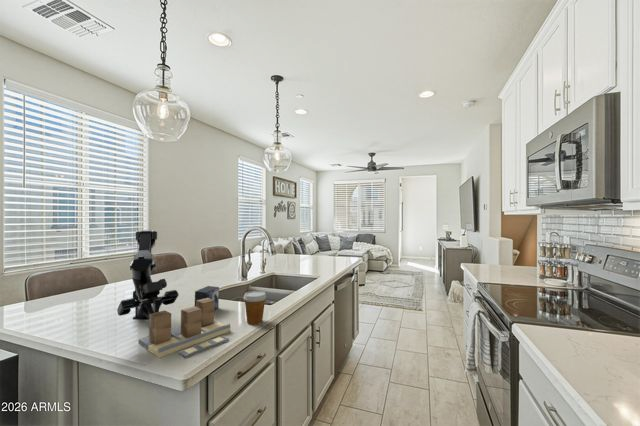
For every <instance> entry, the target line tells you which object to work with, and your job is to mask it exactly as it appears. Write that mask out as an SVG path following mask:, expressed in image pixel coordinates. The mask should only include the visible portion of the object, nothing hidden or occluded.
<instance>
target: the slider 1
mask: <svg viewBox="0 0 640 426" xmlns="http://www.w3.org/2000/svg"><path fill="white" fill-rule="evenodd" d="M148 319H149V322H148V323H149V324H148V325H149V329H148V336H149V341H151V342H152V343H154V344H155V345H156V344H159V343H162V342H165V341H167V340H170V339H171V329H172V312H170V311H169V312H168V311H167V310H162V311H161V310H159V312H156V313H152V314H150V317H149V318H148Z"/></svg>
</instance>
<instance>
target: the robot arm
mask: <svg viewBox="0 0 640 426" xmlns="http://www.w3.org/2000/svg"><path fill="white" fill-rule="evenodd" d="M157 240H158V231H155V229H152V230H151V229H144V230H143V229H141V230H140V229H139V231H135V241H137V245H138V249H137V250H138V251H137V252H136V254H134V255H133V260H132V261H131V262H130V265H129V269H130V271H131V274H132V278H131V279H132V282H133V283H132V284H133V285H134V290H133V291H132V298H126V299H123V300H121V301H120V303H119V305H118V307H117V310H116V311H117V316H119V317H121V316H126V315H130V312H131V311H132V310H131V309H135V313H134V314H135V315H134V316H133V317H132V319H133V320H138V319H139V320H148V319H149V317H150V314H152V313H156V312H160V308H161V306H162V305H165V306H167V305H172V304H174V303H175V302H176V301H177V299H178V297H179V292H178V290H176V289H173V290H166V291H165V292H164V294H163V295H161V296H159V295H160V294H161V293H160V291H162V290H163V289H165V288H167V285H168V284H167V281H166V278H162V279H161V278H160V279H159V280H158V281H153V280H152V277H151V275H152V273H151V272H152V271H153V270H154V269H155V268H156V267H157V262H156V261H155V259H153V253H152V249H153V248H154V247H155V246H156V241H157Z"/></svg>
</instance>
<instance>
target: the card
mask: <svg viewBox="0 0 640 426" xmlns="http://www.w3.org/2000/svg"><path fill="white" fill-rule="evenodd" d="M226 341H227V342H229V341H230V338H228V337H226V336H224V335H219V336H216V337H213V338H211V339H208V340H205V341H203V342H200V343H197V344H195V345H192V346H189V347H187V348H184V349H181V350H179V351H178V355H180V356H181V357H183V358H185V359H187V358H189V357H191V356H194V355H197V354H199V353H202V352H204V351H207V350H209V349H211V348H214V347H216V346H219V345H221V343H222V344H224V343H226Z"/></svg>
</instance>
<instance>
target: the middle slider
mask: <svg viewBox="0 0 640 426" xmlns="http://www.w3.org/2000/svg"><path fill="white" fill-rule="evenodd" d="M201 315H202V309H200V308H198V307H195V305H194V306H190V307H186V308H182V309H180V326H181V335H182V336H184V337H186V338H189V337H192V336H195V335H198V334H201Z"/></svg>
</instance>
